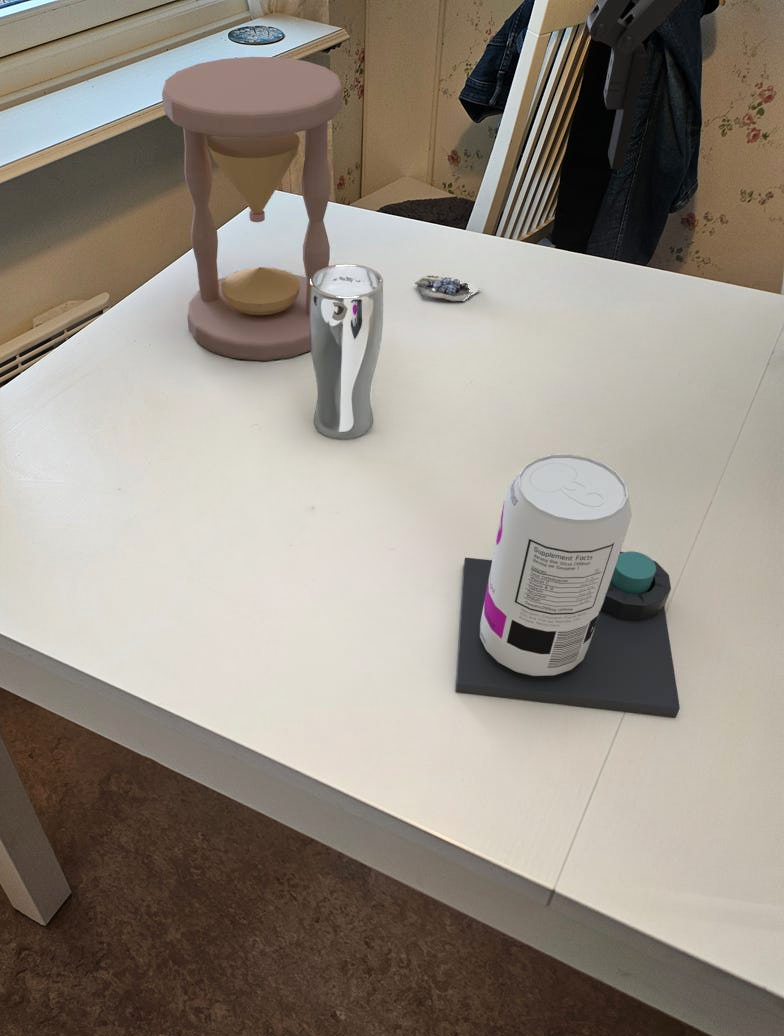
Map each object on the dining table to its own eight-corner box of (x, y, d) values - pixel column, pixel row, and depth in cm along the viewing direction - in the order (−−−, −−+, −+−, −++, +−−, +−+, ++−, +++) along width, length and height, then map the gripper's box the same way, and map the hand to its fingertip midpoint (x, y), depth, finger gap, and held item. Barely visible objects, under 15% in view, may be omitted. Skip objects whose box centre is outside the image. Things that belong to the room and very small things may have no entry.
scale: (656, 582, 75) (666, 555, 73) (676, 718, 66) (688, 692, 63) (463, 563, 77) (467, 536, 75) (455, 693, 68) (459, 666, 65)
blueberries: (408, 281, 112) (410, 266, 111) (470, 275, 113) (472, 260, 112) (423, 307, 108) (424, 291, 107) (487, 300, 109) (489, 285, 107)
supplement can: (456, 639, 70) (482, 483, 59) (524, 589, 73) (561, 433, 62) (540, 700, 65) (585, 544, 54) (607, 644, 69) (663, 487, 58)
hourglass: (158, 337, 104) (124, 94, 85) (239, 276, 114) (224, 47, 96) (290, 376, 98) (284, 123, 79) (363, 308, 108) (373, 70, 90)
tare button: (648, 569, 73) (654, 553, 71) (652, 596, 71) (658, 580, 69) (607, 565, 73) (612, 549, 72) (610, 592, 71) (615, 576, 70)
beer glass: (389, 417, 92) (399, 274, 81) (353, 450, 88) (359, 306, 77) (333, 396, 95) (335, 256, 84) (295, 428, 91) (292, 285, 80)
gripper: (601, -284, 43) (531, 181, 59) (1172, -304, 40) (939, 190, 56) (589, -291, 48) (527, 140, 64) (1096, -309, 45) (902, 146, 61)
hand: (720, 164), depth 60 cm, fingers open, 13 cm apart
